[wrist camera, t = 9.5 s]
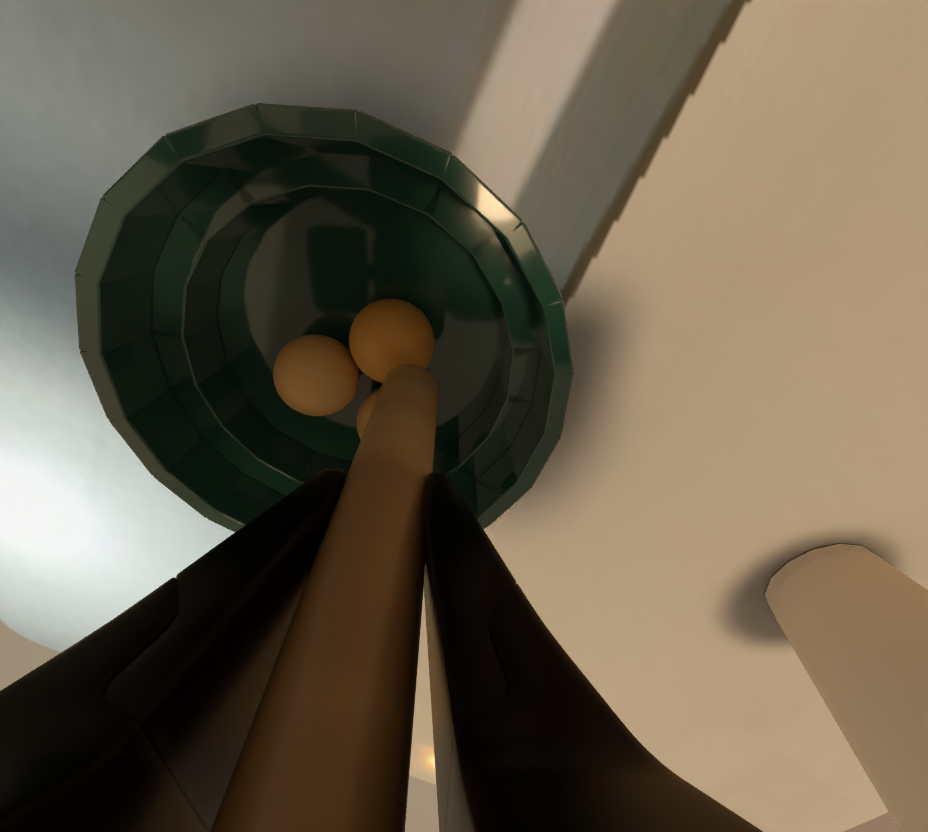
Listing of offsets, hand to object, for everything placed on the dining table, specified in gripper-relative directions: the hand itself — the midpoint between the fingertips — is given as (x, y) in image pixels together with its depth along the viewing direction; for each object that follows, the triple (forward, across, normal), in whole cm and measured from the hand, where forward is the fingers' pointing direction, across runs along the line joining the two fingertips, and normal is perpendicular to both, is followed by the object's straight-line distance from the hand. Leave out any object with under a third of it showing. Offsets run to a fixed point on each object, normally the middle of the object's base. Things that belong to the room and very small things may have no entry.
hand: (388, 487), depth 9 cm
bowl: (+9, +2, 0) cm, 10 cm away
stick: (+5, 0, 0) cm, 5 cm away
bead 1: (+7, +4, +1) cm, 8 cm away
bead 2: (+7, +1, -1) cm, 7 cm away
